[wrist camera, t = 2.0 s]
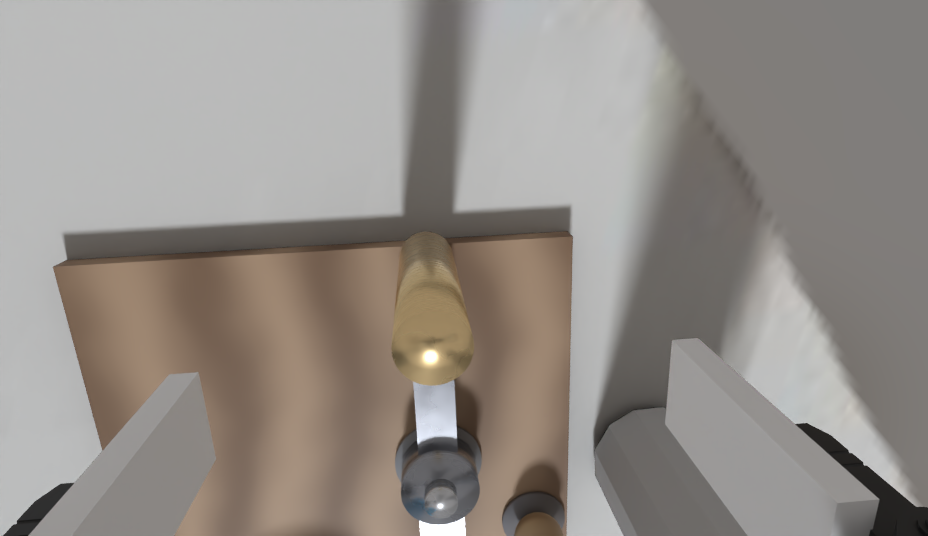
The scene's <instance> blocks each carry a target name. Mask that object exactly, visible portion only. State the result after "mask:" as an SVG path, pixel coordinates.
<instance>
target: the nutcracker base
mask: <svg viewBox="0 0 928 536" xmlns="http://www.w3.org/2000/svg"><path fill="white" fill-rule="evenodd" d="M444 239H445V240H446V241H447V242H448V243H449V245H450V247H451V249H452V253H453V257H454V261H455V265H456V269H457V274H458V278H459V282H460V286H461V290H462V294H463V299H464V303H465V307H466V311H467V315H468V319H469V324H470V328H471V332H472V336H473V340H474V353H473V357H472V360H471V362H470V364H469V366H468V368H467V369H466V370H465V371H464V372H463V373H462V374H461V375H460V376H459V377H457V378H456V379H454V384H455V405H456V426H457V437H458V438H460V439H462V440H463V441H465V442H466V443H467V444H468V445H469V446H470V448H471V449H472V451H473V453H474V457H475V462H476V468H477V474H478V480H479V486H480V494H479V498H478V501H477V503H476V505H475V507H474V508H473V509H472V511H471V512H470V513H469V514H467V515H466V516H465V532H466V536H566V526H567V480H568V433H569V386H570V339H571V292H572V245H573V236H572V235H570V234H569V233H568V232H567V231H564V232H546V233H529V234H512V235H494V236H477V237H460V238H444ZM404 243H405V241H390V242H373V243H356V244H338V245H321V246H304V247H286V248H269V249H251V250H234V251H217V252H199V253H182V254H165V255H147V256H130V257H113V258H95V259H78V260H66V261H64V262H62V263H60V264H58V265H56V266H54V267H53V269H54V273H55V276H56V280H57V284H58V287H59V291H60V295H61V299H62V302H63V306H64V310H65V313H66V317H67V321H68V324H69V328H70V332H71V336H72V339H73V343H74V347H75V350H76V354H77V358H78V361H79V365H80V369H81V373H82V376H83V380H84V384H85V387H86V391H87V395H88V398H89V402H90V406H91V410H92V413H93V417H94V421H95V424H96V428H97V432H98V435H99V439H100V443H101V447H102V450H104V449H105V447H106V446H107V445H108V444H109V443H110V442H111V441H112V439H113V438H114V437H115V436H116V435H117V434H118V432H119V431H120V430H121V429H122V428H123V427H124V426H125V424H126V423H127V422H128V421H129V420H130V419H131V418H132V416H133V415H134V414H135V413H136V412H137V411H138V410H139V408H140V407H141V406H142V405H143V404H144V403H145V402H146V400H147V399H148V398H149V397H150V396H151V395H152V394H153V392H154V391H155V390H156V389H157V388H158V387H159V386H160V384H161V383H162V382H163V381H164V380H165V379H166V378H167V376H168V375H169V374H181V373H196V372H199V377H200V382H201V387H202V392H203V397H204V402H205V407H206V412H207V417H208V421H209V426H210V431H211V436H212V441H213V446H214V451H215V456H216V460H215V462H214V464H213V465H212V467H211V469H210V471H209V473H208V475H207V476H206V478H205V480H204V482H203V484H202V486H201V487H200V489H199V491H198V493H197V495H196V497H195V498H194V500H193V502H192V504H191V506H190V508H189V509H188V511H187V513H186V515H185V517H184V518H183V520H182V522H181V524H180V526H179V528H178V529H177V531H176V533H175V535H174V536H420V523H419V520H417V519H415V518H414V517H413V516H411V515H410V514H409V513H408V512H407V510H406V509H405V507H404V505H403V503H402V499H401V473H402V460H403V457H404V454H405V452H406V451H407V449H408V448H409V447H410V446H411V445H412V444H413V443H414V442H415V441H417V428H416V414H415V400H414V386H413V381H411V380H409V379H408V378H406V377H405V376H404V375H403V374H402V373H401V372H400V371H399V370H398V368H397V367H396V365H395V363H394V360H393V357H392V352H391V346H392V335H393V323H394V312H395V301H396V289H397V278H398V267H399V256H400V250H401V248H402V246H403V244H404Z"/></svg>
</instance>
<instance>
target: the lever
mask: <svg viewBox="0 0 928 536" xmlns="http://www.w3.org/2000/svg"><path fill="white" fill-rule="evenodd" d="M391 352H392V357H393V360H394V363H395V365H396V367H397V368H398V370H399V371H400V372H401V373H402V374H403V375H404V376H405V377H406V378H408V379H409V380H411V381H413V386H414V400H415V414H416V428H417V441H415V442H414V443H413V444H412V445H411V446H410V447H409V448H408V449H407V451H406V452H405V454H404V457H403V460H402V473H401V499H402V503H403V505H404V507H405V509H406V510H407V512H408V513H409V514H410V515H411V516H413V517H414V518H415V519H417V520H419V523H420V536H466V532H465V516H466V515H467V514H469V513H470V512H471V511H472V509H473V508H474V507H475V505H476V503H477V501H478V498H479V494H480V486H479V480H478V474H477V468H476V462H475V457H474V453H473V451H472V449H471V448H470V446H469V445H468V444H467V443H466V442H465V441H463V440H462V439H460V438H458V437H457V426H456V405H455V384H454V379H456V378H457V377H459V376H460V375H461V374H462V373H463V372H464V371H465V370H466V369H467V368H468V366H469V364H470V362H471V360H472V357H473V353H474V340H473V336H472V332H471V328H470V324H469V319H468V315H467V311H466V307H465V303H464V299H463V294H462V290H461V286H460V282H459V278H458V274H457V269H456V265H455V261H454V257H453V253H452V249H451V247H450V245H449V243H448V242H447V241H446V240H445V239H444V238H443V237H442V236H440V235H438V234H436V233H433V232H420V233H417V234H414V235H412V236H411V237H409V238H408V239H407V240H406V241H405V243H404V244H403V246H402V248H401V250H400V256H399V267H398V278H397V289H396V301H395V312H394V323H393V335H392V346H391Z"/></svg>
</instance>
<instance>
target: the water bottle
mask: <svg viewBox="0 0 928 536" xmlns="http://www.w3.org/2000/svg"><path fill="white" fill-rule="evenodd" d="M665 418H666V408H664V407H658V408H650V409H641V410H633V411H631V412H630V413H628V414H626V415H625V416H623V417H622V418H620V419H618V420H617V421H615V422H614V423H612V424H611V425H610V426H609V427H608V429H607V430H606V432H605V434H604V435H603V437H602V439H601V440H600V442H599V444H598V446H597V447H596V449H595V476H596V478H597V480H598V482H599V485H600V487H601V489H602V491H603V493H604V495H605V497H606V499H607V501H608V504H609V506H610V508H611V510H612V512H613V514H614V516H615V518H616V520H617V523H618V525H619V527H620V529H621V531H622V533H623V535H624V536H747V534H746V533H745V532H744V530H743V529H742V528H741V526H740V525H739V524H738V522H737V521H736V520H735V518H734V517H733V515H732V514H731V513H730V511H729V510H728V509H727V507H726V506H725V505H724V503H723V502H722V501H721V499H720V498H719V496H718V495H717V494H716V492H715V491H714V490H713V488H712V487H711V486H710V484H709V483H708V482H707V480H706V479H705V477H704V476H703V475H702V473H701V472H700V471H699V469H698V468H697V467H696V465H695V464H694V463H693V461H692V460H691V458H690V457H689V456H688V454H687V453H686V452H685V450H684V449H683V448H682V446H681V445H680V444H679V442H678V441H677V440H676V438H675V437H674V435H673V434H672V433H671V431H670V430H669V429H668V427H667V426H666V425H665Z"/></svg>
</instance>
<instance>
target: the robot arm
mask: <svg viewBox="0 0 928 536" xmlns="http://www.w3.org/2000/svg"><path fill="white" fill-rule="evenodd" d="M665 425H666V426H667V427H668V429H669V430H670V431H671V433H672V434H673V435H674V437H675V438H676V440H677V441H678V442H679V444H680V445H681V446H682V448H683V449H684V450H685V452H686V453H687V454H688V456H689V457H690V458H691V460H692V461H693V463H694V464H695V465H696V467H697V468H698V469H699V471H700V472H701V473H702V475H703V476H704V477H705V479H706V480H707V482H708V483H709V484H710V486H711V487H712V488H713V490H714V491H715V492H716V494H717V495H718V496H719V498H720V499H721V501H722V502H723V503H724V505H725V506H726V507H727V509H728V510H729V511H730V513H731V514H732V515H733V517H734V518H735V520H736V521H737V522H738V524H739V525H740V526H741V528H742V529H743V530H744V532H745V533H746V534H747V536H928V508H927V507H915V506H914V505H913V504H912V503H911V502H909V501H908V500H907V499H906V498H905V497H904V496H902V495H901V494H900V493H899V492H898V491H896V490H895V489H894V488H893V487H892V486H890V485H889V484H888V483H887V482H886V481H884V480H883V479H882V478H881V477H880V476H879V475H877V474H876V473H875V472H874V471H873V470H871V469H870V468H869V467H868V466H864V465H863V462H862V461H861V460H859V459H858V458H857V457H856V456H855V455H853V454H852V453H849V452H848V449H846V448H845V447H844V446H843V445H842V444H840V443H839V442H838V441H837V440H836V439H834V438H833V437H832V436H831V435H829V434H827V433H825V432H823V431H821V430H819V429H817V428H815V427H813V426H811V425H809V424H808V423H803V424H794V423H793V422H792V421H791V420H790V419H789V418H787V417H786V416H785V415H784V414H783V413H782V412H781V411H780V410H778V409H777V408H776V407H775V406H774V405H773V404H772V403H771V402H769V401H768V400H767V399H766V398H765V397H764V396H763V395H762V394H760V393H759V392H758V391H757V390H756V389H755V388H754V387H753V386H751V385H750V384H749V383H748V382H747V381H746V380H745V379H744V378H742V377H741V376H740V375H739V374H738V373H737V372H736V371H735V370H733V369H732V368H731V367H730V366H729V365H728V364H727V363H726V362H724V361H723V360H722V359H721V358H720V357H719V356H718V355H717V354H715V353H714V352H713V351H712V350H711V349H710V348H709V347H708V346H706V345H705V344H704V343H703V342H702V341H701V340H700V339H699V338H692V339H677V340H672V346H671V358H670V370H669V382H668V394H667V406H666V418H665ZM215 460H216V456H215V451H214V446H213V441H212V436H211V431H210V426H209V421H208V417H207V412H206V407H205V402H204V397H203V392H202V387H201V382H200V377H199V372H196V373H181V374H169V375H168V376H167V378H166V379H165V380H164V381H163V382H162V383H161V384H160V386H159V387H158V388H157V389H156V390H155V391H154V392H153V394H152V395H151V396H150V397H149V398H148V399H147V400H146V402H145V403H144V404H143V405H142V406H141V407H140V408H139V410H138V411H137V412H136V413H135V414H134V415H133V416H132V418H131V419H130V420H129V421H128V422H127V423H126V424H125V426H124V427H123V428H122V429H121V430H120V431H119V432H118V434H117V435H116V436H115V437H114V438H113V439H112V441H111V442H110V443H109V444H108V445H107V446H106V447H105V449H104V450H103V451H102V452H101V453H100V454H99V455H98V457H97V458H96V459H95V460H94V461H93V462H92V463H91V465H90V466H89V467H88V468H87V469H86V470H85V471H84V473H83V474H82V475H81V476H80V477H79V478H78V479H77V481H76V482H75V483H66V484H60V485H58V486H57V487H55V488H54V489H53V490H51V491H50V492H48V493H47V494H45V495H44V496H42V497H41V498H39V499H38V500H36V501H35V502H34V503H33V504H32V505H31V506H30V507H29V509H28V510H27V511H26V512H25V513H24V514H23V515H22V516H21V517H20V518H19V519H18V520H17V524H15V525H13V526H12V527H11V528H10V529H9V530H8V531H7V532H6V533H5V534H4V535H3V536H174V535H175V533H176V531H177V529H178V528H179V526H180V524H181V522H182V520H183V518H184V517H185V515H186V513H187V511H188V509H189V508H190V506H191V504H192V502H193V500H194V498H195V497H196V495H197V493H198V491H199V489H200V487H201V486H202V484H203V482H204V480H205V478H206V476H207V475H208V473H209V471H210V469H211V467H212V465H213V464H214V462H215Z"/></svg>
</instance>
